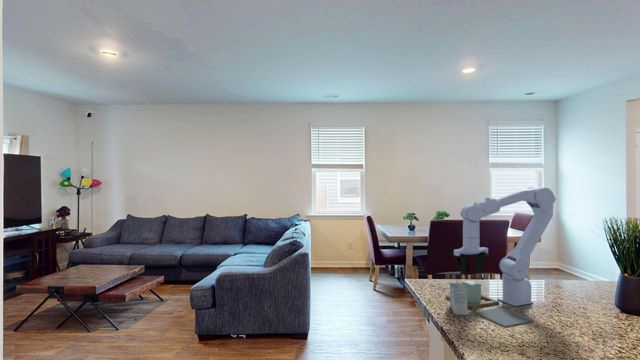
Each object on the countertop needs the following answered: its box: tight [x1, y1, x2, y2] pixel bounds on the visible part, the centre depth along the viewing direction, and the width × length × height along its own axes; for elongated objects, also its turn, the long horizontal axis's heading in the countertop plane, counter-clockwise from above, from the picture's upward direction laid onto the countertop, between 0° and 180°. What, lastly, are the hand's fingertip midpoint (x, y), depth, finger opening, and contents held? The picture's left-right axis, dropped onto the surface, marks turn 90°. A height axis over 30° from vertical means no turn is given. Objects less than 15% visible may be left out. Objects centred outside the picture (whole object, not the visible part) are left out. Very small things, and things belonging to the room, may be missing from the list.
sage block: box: [462, 279, 482, 304], centre depth 129 cm, size 4×5×7 cm
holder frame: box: [445, 293, 500, 310], centre depth 129 cm, size 14×12×1 cm
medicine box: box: [449, 282, 469, 316], centre depth 120 cm, size 8×4×9 cm, turn 168°
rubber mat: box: [474, 307, 534, 328], centre depth 114 cm, size 12×12×1 cm
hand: (471, 273), depth 129 cm, fingers open, 7 cm apart
